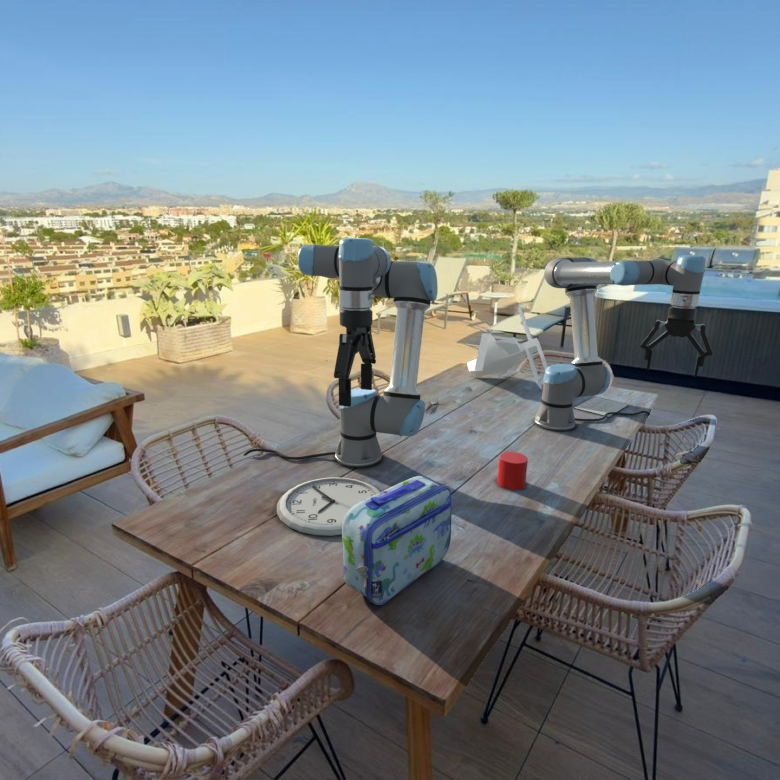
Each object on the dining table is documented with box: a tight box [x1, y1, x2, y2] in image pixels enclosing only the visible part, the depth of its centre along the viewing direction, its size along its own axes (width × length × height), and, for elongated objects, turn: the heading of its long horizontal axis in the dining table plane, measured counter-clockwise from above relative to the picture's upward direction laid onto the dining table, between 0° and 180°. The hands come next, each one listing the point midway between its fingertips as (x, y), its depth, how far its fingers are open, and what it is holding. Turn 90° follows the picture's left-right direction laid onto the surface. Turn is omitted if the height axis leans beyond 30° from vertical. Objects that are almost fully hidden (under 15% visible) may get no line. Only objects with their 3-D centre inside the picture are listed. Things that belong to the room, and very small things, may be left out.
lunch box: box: [341, 475, 453, 606], centre depth 111 cm, size 26×11×21 cm, turn 134°
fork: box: [425, 396, 439, 412], centre depth 222 cm, size 3×16×2 cm, turn 160°
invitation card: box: [573, 396, 629, 418], centre depth 226 cm, size 21×1×15 cm
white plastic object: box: [466, 306, 549, 390], centre depth 259 cm, size 37×45×31 cm
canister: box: [496, 451, 529, 491], centre depth 155 cm, size 8×8×9 cm
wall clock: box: [276, 476, 382, 537], centre depth 142 cm, size 30×2×30 cm
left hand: (356, 397), depth 125 cm, fingers open, 13 cm apart
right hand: (671, 373), depth 168 cm, fingers open, 13 cm apart
